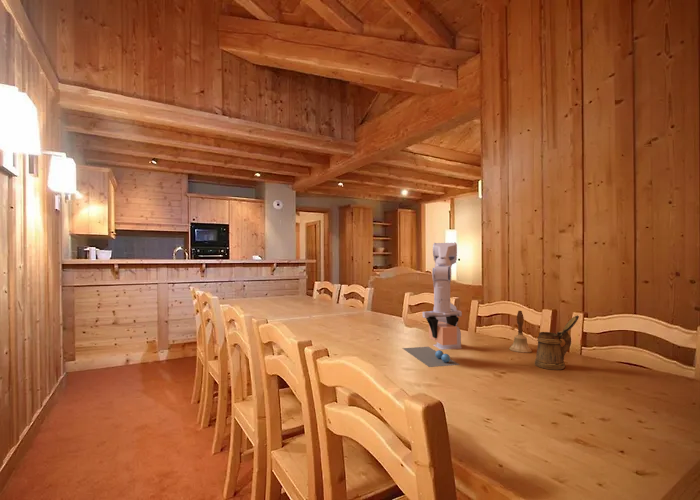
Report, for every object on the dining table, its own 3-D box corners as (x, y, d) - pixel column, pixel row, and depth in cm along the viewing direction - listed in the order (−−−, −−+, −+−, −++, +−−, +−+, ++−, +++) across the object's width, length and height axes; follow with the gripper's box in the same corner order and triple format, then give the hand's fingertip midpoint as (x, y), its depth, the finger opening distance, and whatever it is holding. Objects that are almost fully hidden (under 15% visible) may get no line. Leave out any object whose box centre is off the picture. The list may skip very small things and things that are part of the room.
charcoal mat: (428, 347, 147) (428, 346, 147) (460, 366, 122) (460, 364, 122) (402, 349, 145) (402, 348, 145) (429, 368, 120) (429, 366, 120)
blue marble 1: (441, 357, 131) (441, 349, 132) (445, 359, 129) (445, 351, 129) (433, 357, 131) (433, 349, 131) (437, 360, 128) (437, 351, 128)
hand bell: (536, 352, 139) (535, 312, 140) (514, 352, 139) (514, 312, 140) (525, 347, 147) (525, 309, 148) (505, 347, 148) (505, 309, 148)
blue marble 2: (447, 360, 127) (447, 352, 127) (451, 363, 124) (451, 354, 124) (439, 361, 126) (439, 352, 126) (443, 363, 123) (443, 355, 123)
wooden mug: (582, 373, 115) (581, 317, 115) (536, 368, 120) (535, 315, 120) (577, 365, 123) (576, 313, 123) (533, 361, 128) (532, 311, 128)
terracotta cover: (442, 337, 133) (442, 321, 134) (457, 344, 123) (456, 327, 123) (428, 338, 132) (428, 322, 132) (442, 345, 122) (442, 327, 122)
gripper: (428, 301, 122) (428, 340, 122) (466, 300, 125) (466, 338, 125) (419, 298, 129) (420, 336, 129) (456, 297, 132) (456, 334, 132)
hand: (442, 337), depth 128 cm, fingers closed on terracotta cover, 5 cm apart
